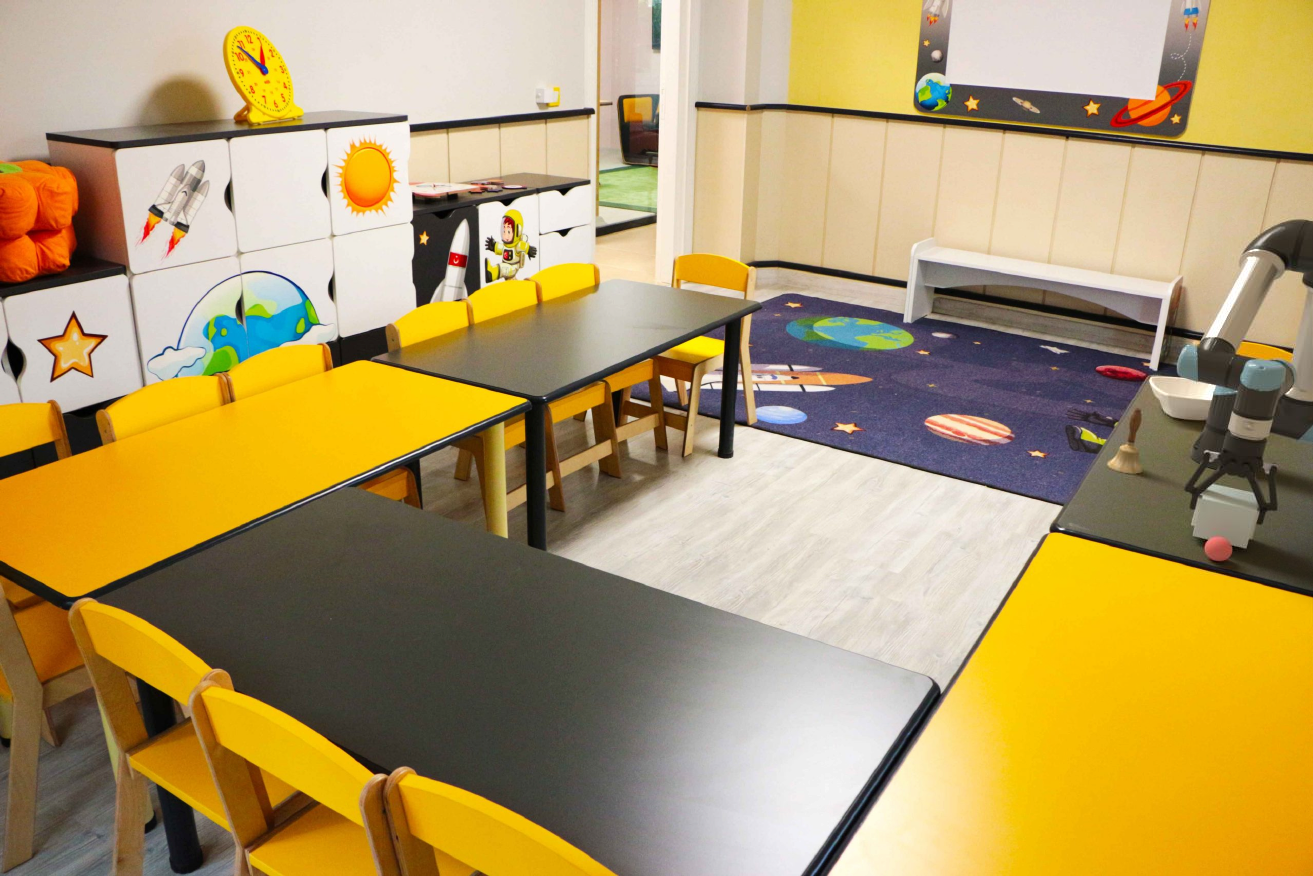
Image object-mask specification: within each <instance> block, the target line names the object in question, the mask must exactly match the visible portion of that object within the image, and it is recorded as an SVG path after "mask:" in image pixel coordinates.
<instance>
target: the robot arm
mask: <svg viewBox="0 0 1313 876" xmlns="http://www.w3.org/2000/svg"><path fill="white" fill-rule="evenodd" d="M1238 266H1239V269H1238V271H1237V273H1236V275H1235V276H1234V279H1233V281H1232V282H1231V283H1230V286H1229V288H1228V290H1227V291H1226V292H1225V293H1226V294H1225V295H1224V297H1223V298H1222V301H1220V305H1219V307H1218V308H1217V309H1216V311H1215V313H1214V315H1213V317H1212V319H1211V321H1210V323H1209V324H1208V326H1207V328H1206V330H1205V331H1204V334H1203V336H1202V338H1201V340H1200V341H1199V344H1186V345H1185V346H1184V347H1183V348H1182V349H1181V352H1180V354H1179V355H1178V360H1177V364H1176V372H1177V374H1178V376H1179V377H1180V378H1186V379H1190V380H1193V381H1196V382H1202V383H1207V384H1212V385H1216V386H1215V389H1214V391H1213V397H1212V401H1211V405H1210V409H1209V413H1208V417H1207V420H1205V425H1204V429H1203V430H1202V431H1201V433H1200V435H1199V436H1198V437H1197V438H1196V440H1195V442H1194V443H1193V445H1192V447H1191V449H1190V453H1189V454H1190V455H1189V457H1190V458H1191V459H1192V460H1193V461H1194V462H1196V463H1198V466H1197V467H1196V468H1195V469H1194V471H1193V473H1192V475H1191V476H1190V478H1189V479H1188V480H1187V482H1186V483H1185V484H1184V485H1185V486H1184V488H1183V489H1184V491H1185V492H1186V493H1189V494H1191V498H1190V499H1191V500H1190V503H1189V509H1190V510H1194V512H1193V516H1192V519H1191V526H1193V527H1195V523H1196V520H1197V516H1198V512H1199V508H1200V504H1201V500H1202V496H1203V492H1204V491H1205V490H1206V489H1207V488H1208V487H1210V486H1211V485H1212V484H1215V483H1216V482H1217V481H1218V480H1219V479H1220V478H1223V476H1224V475H1226V474H1227V475H1228V476H1236V477H1238V478H1241V479H1245V478H1246V479H1247V481H1248V484H1249V485H1250V488H1251V489H1252V493H1254V495H1255V498H1256V500H1257V503H1258V504H1257V512H1256V516H1255V519H1254V523H1253V526H1252V530H1251V533H1250V537H1249V540H1253V537H1254V533H1255V530H1256V526H1257V525H1260V526H1262V524H1263V523H1264V521H1265V520H1264V519H1265V516H1266V514H1267V512H1268V511H1270V512H1271V511H1273V512H1276V511H1278V492H1277V482H1276V475H1277V471H1278V467H1279V466H1278V465H1279V464H1277V463H1276V462H1272V463H1271V462H1270V463H1269V462H1265V461H1264V458H1263V457H1264V454H1265V450H1266V446H1267V442H1268V439H1267V437H1269V436H1270V435H1274V436H1279V437H1282V438H1285V439H1290V440H1295V441H1297V442H1303V443H1308V444H1313V220H1309V219H1305V218H1303V219H1302V218H1301V219H1300V218H1299V219H1297V218H1296V219H1289V220H1285V221H1282V222H1280V223H1278V224H1275V225H1272V226H1271V227H1269V228H1267V229H1266V230H1265V231H1263V232H1261V233H1260V234H1258V235H1257V236H1256V237H1255V238H1254V239H1252V240H1251V242H1250V243H1248V245H1247V246H1246V248H1244V250H1243V252H1242V254H1241V255H1240V258H1239V260H1238ZM1286 271H1289V272H1290V271H1291V272H1295V273H1300V274H1303V275H1302V278H1301V282H1302V285H1304V287H1305V288H1306V289H1307V291H1306V296H1305V300H1304V304H1303V308H1302V313H1301V316H1300V317H1301V318H1300V322H1299V325H1298V330H1297V333H1296V339H1295V343H1294V348H1293V351H1292V357H1291V359H1290V362H1289V361H1288V360H1285V359H1283V358H1273V359H1272V358H1270V359H1262V358H1258V357H1257V358H1256V357H1252V356H1247V355H1241V354H1237V353H1238V351H1239V349H1240V346H1241V345H1242V342H1243V341H1244V339H1245V337H1246V335H1247V333H1248V331H1249V329H1250V328H1251V326H1252V324H1253V322H1254V320H1255V318H1256V317H1257V314H1258V312H1259V311H1260V309H1261V307H1262V305H1263V303H1264V302H1265V299H1266V297H1267V295H1268V293H1269V291H1270V290H1271V287H1272V286H1273V283H1274V282H1275V281H1276V280H1279V279H1280V278H1282V276H1283V275H1284V274H1285V272H1286ZM1207 467H1208V468H1211V469H1214V471H1213V472H1212V473H1211V474H1209V476H1207V477H1206V478H1205V479H1204V480H1203V481H1202V482H1201V483H1199V484H1198V485H1197V486H1196V487H1195V485H1196V483H1197V482H1198V480H1199V479H1200V477H1201V476H1202V474H1203V473H1204V472H1205V470H1206V468H1207ZM1261 469H1264V473H1265V474H1266V475H1268V476H1267V480H1268V482H1267V483H1268V493H1269V502H1267V501H1266V498H1265V497H1264V493H1263V492H1262V487H1261V486H1260V484H1259V481H1258V478H1257V475H1256V473H1257V472H1258V471H1259V470H1261Z"/></svg>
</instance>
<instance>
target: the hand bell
mask: <svg viewBox="0 0 1313 876" xmlns="http://www.w3.org/2000/svg"><path fill="white" fill-rule="evenodd" d="M1142 417H1143V416H1142V409H1141V408H1139V407H1135V408H1134V410H1133V412H1132V414H1131V415H1130V417H1129V424H1128V427H1129V434H1128V438H1127V442H1126V444H1121V445H1120V446H1119V448H1118V451H1117V453H1116V455H1115V456H1114V457H1113V458H1112V459H1110V460H1108V462H1107V463H1106V464H1107V467H1108V468H1110V469H1111V470H1113V471H1115V472H1117V471H1118V473H1121V472H1122V473H1121V474H1125V473H1129V474H1128V475H1137V474H1136V473H1140V474H1142V473H1143V471H1144V470H1143V467H1142V466H1141V464H1140V459H1139V451H1140V450H1139V448H1137V447H1136V446H1135V441H1136V438H1137V437H1136V436H1137V432H1138V430H1139V428H1140V427H1141V424H1142ZM1141 472H1142V473H1141Z"/></svg>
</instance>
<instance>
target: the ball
mask: <svg viewBox="0 0 1313 876" xmlns="http://www.w3.org/2000/svg"><path fill="white" fill-rule="evenodd" d="M1232 546H1233V545H1231V544H1230V542H1229V541H1228V540H1227V539H1225V538H1222V537H1213V538H1211V539H1209V540H1208V539H1207V541H1206V542H1205V545H1204V553H1205V555H1206V556H1207V557H1208V558H1209V559H1210V560H1213V561H1216V562H1223V561H1225V560H1228V559H1229V558H1230V557H1231V556H1232V554H1233V547H1232Z"/></svg>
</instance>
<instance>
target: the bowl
mask: <svg viewBox="0 0 1313 876" xmlns="http://www.w3.org/2000/svg"><path fill="white" fill-rule="evenodd" d="M1148 381H1149V384H1150V387H1151V389H1152V392H1153V393H1152V394H1154V397H1156V398H1157V399H1158V400H1159V402H1160V405H1161V408H1162V410H1163V412H1164V413H1165V414H1167V415H1168V416H1170V417H1171V418H1175V419H1183V420H1189V421H1190V420H1191V421H1207V417H1208V413H1209V409H1210V405H1211V401H1212V397H1213V391H1214V389H1215V386H1216V385H1212V384H1207V383H1202V382H1196V381H1193V380H1190V379H1186V378H1183V377H1175V376H1151V377H1150V378H1149V379H1148Z"/></svg>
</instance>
